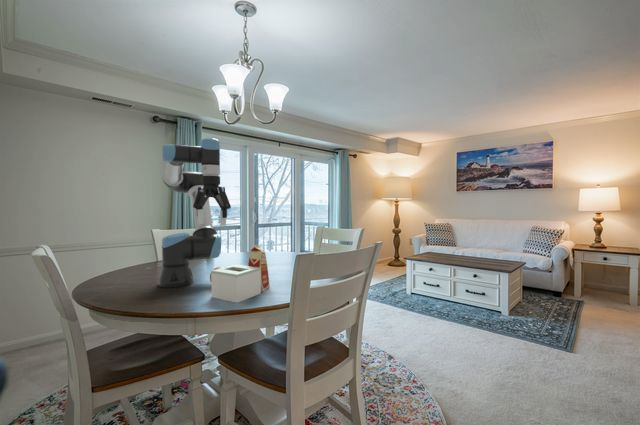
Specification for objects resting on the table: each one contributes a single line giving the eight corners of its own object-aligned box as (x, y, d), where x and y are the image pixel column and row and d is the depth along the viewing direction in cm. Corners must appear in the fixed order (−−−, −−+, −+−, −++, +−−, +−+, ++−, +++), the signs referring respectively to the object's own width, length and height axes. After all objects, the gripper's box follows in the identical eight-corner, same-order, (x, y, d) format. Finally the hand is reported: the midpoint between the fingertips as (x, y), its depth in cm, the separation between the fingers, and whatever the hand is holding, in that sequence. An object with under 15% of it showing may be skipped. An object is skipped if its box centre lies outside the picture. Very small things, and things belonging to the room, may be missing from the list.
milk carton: (263, 291, 144) (262, 245, 143) (243, 290, 146) (242, 244, 145) (270, 285, 153) (270, 242, 152) (251, 284, 155) (251, 242, 154)
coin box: (211, 297, 136) (211, 270, 135) (236, 288, 148) (235, 264, 147) (237, 302, 129) (237, 274, 128) (260, 293, 141) (260, 267, 140)
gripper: (184, 175, 146) (184, 224, 147) (225, 174, 133) (226, 227, 134) (197, 176, 152) (198, 223, 153) (239, 175, 140) (239, 225, 141)
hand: (211, 225), depth 144 cm, fingers open, 13 cm apart
